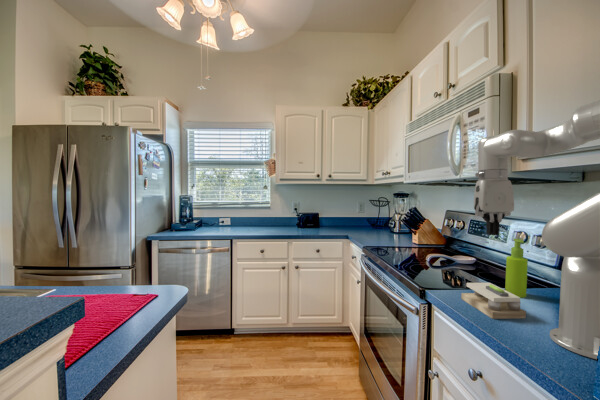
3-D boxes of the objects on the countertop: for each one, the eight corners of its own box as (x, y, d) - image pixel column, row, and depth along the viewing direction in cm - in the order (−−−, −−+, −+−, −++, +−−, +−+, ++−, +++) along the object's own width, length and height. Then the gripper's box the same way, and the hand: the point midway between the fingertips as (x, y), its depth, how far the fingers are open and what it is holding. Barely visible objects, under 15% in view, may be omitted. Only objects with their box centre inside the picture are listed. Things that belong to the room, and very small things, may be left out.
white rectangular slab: (520, 301, 79) (520, 292, 79) (493, 301, 79) (494, 292, 78) (489, 286, 91) (489, 277, 91) (466, 286, 91) (466, 278, 90)
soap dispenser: (507, 296, 94) (509, 239, 93) (503, 290, 100) (505, 236, 99) (529, 300, 91) (531, 241, 90) (523, 293, 97) (526, 238, 97)
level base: (525, 318, 78) (526, 303, 78) (492, 318, 78) (493, 303, 78) (489, 298, 92) (490, 285, 92) (461, 298, 92) (461, 286, 91)
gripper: (477, 175, 81) (478, 236, 81) (526, 175, 81) (526, 236, 81) (461, 177, 88) (461, 233, 88) (506, 177, 89) (506, 233, 89)
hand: (492, 234), depth 85 cm, fingers closed
